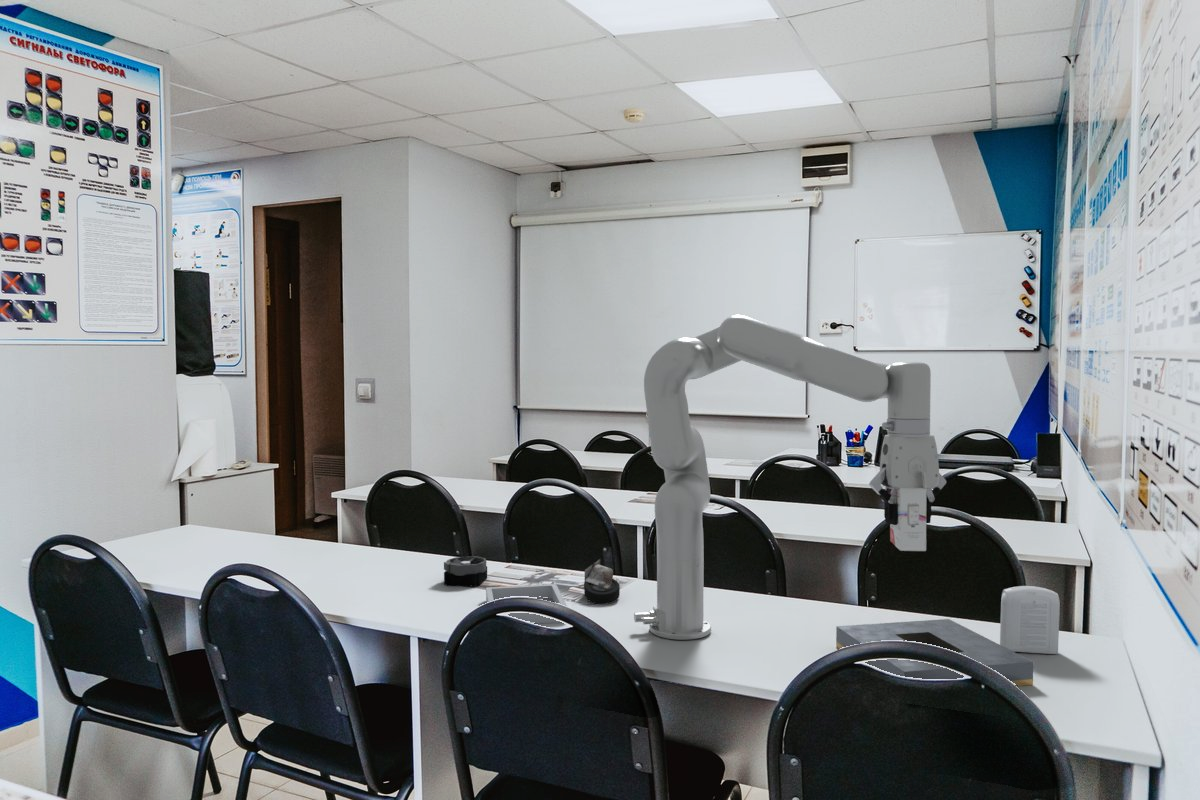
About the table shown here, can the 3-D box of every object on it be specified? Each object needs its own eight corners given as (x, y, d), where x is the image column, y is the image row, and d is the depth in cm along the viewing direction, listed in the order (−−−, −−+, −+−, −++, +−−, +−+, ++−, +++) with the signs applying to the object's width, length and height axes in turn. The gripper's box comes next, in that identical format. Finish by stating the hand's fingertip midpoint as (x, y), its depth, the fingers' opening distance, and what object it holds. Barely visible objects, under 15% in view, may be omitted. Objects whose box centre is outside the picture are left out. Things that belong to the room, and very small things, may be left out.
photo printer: (1053, 648, 158) (1054, 584, 158) (1062, 656, 154) (1063, 590, 153) (996, 645, 160) (997, 582, 159) (1003, 653, 155) (1005, 588, 155)
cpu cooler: (490, 555, 212) (480, 565, 202) (491, 577, 212) (480, 588, 202) (452, 554, 213) (439, 564, 203) (452, 576, 214) (440, 587, 204)
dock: (903, 695, 136) (904, 671, 135) (836, 646, 159) (836, 626, 159) (1032, 684, 140) (1033, 661, 140) (948, 638, 164) (948, 618, 163)
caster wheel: (606, 616, 187) (571, 602, 193) (632, 594, 196) (598, 582, 202) (607, 590, 185) (571, 577, 191) (633, 569, 194) (598, 558, 200)
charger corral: (490, 626, 172) (490, 612, 172) (486, 600, 191) (486, 587, 191) (568, 621, 175) (567, 607, 175) (556, 596, 194) (556, 584, 194)
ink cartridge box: (888, 541, 160) (889, 466, 160) (914, 541, 160) (915, 466, 159) (899, 551, 152) (899, 471, 151) (927, 551, 151) (928, 472, 150)
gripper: (877, 430, 149) (877, 528, 150) (962, 428, 153) (960, 524, 154) (856, 427, 156) (855, 521, 157) (937, 425, 160) (936, 517, 161)
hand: (907, 521), depth 155 cm, fingers closed on ink cartridge box, 6 cm apart
